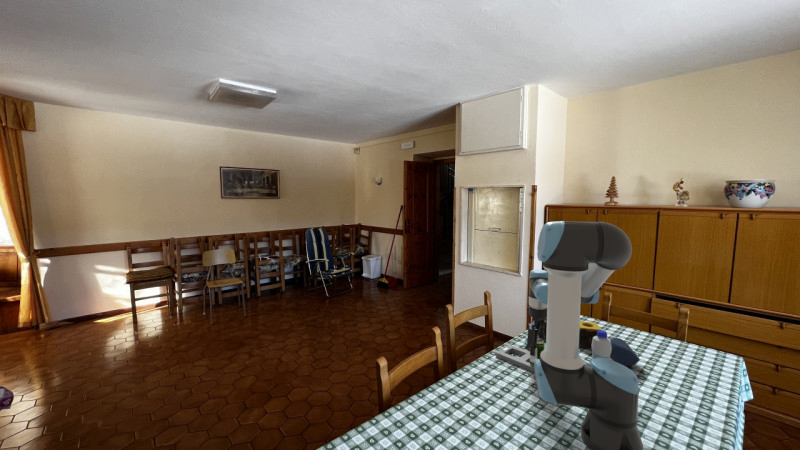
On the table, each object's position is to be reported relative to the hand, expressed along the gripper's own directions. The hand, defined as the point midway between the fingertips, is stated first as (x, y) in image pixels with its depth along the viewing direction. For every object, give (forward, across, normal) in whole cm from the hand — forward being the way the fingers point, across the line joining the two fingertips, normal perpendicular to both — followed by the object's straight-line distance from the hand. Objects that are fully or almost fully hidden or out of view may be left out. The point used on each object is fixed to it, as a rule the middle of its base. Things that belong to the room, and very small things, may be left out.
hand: (537, 359), depth 135 cm
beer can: (+3, 0, 0) cm, 3 cm away
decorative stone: (+3, +29, -24) cm, 37 cm away
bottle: (+3, +8, -22) cm, 23 cm away
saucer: (+3, +18, +6) cm, 19 cm away
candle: (+3, +38, -6) cm, 39 cm away
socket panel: (+3, 0, +5) cm, 6 cm away
